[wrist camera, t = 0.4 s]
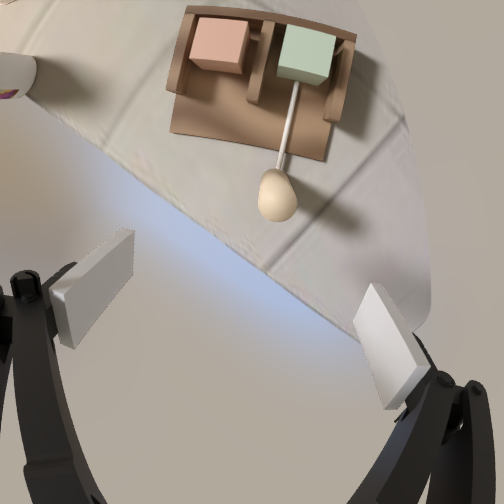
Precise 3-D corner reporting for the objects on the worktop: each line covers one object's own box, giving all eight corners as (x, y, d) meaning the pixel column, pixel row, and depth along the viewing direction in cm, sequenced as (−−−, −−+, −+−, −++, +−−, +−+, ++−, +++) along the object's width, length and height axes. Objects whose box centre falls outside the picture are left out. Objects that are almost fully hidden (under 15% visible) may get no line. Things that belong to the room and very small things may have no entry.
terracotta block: (210, 34, 27) (199, 17, 21) (251, 38, 27) (247, 21, 21) (201, 69, 29) (189, 58, 23) (242, 74, 29) (237, 63, 24)
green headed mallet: (284, 42, 28) (290, 7, 17) (324, 52, 28) (346, 22, 18) (252, 191, 35) (245, 215, 25) (291, 199, 36) (300, 227, 25)
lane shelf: (196, 18, 26) (187, 5, 22) (346, 44, 27) (356, 34, 23) (170, 132, 33) (157, 132, 29) (321, 160, 33) (329, 164, 29)
